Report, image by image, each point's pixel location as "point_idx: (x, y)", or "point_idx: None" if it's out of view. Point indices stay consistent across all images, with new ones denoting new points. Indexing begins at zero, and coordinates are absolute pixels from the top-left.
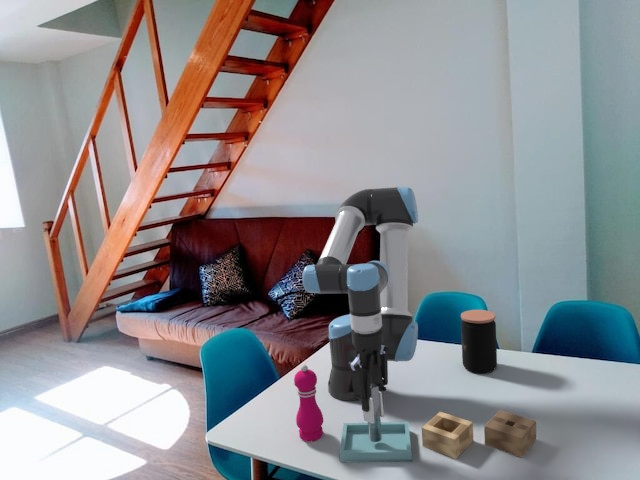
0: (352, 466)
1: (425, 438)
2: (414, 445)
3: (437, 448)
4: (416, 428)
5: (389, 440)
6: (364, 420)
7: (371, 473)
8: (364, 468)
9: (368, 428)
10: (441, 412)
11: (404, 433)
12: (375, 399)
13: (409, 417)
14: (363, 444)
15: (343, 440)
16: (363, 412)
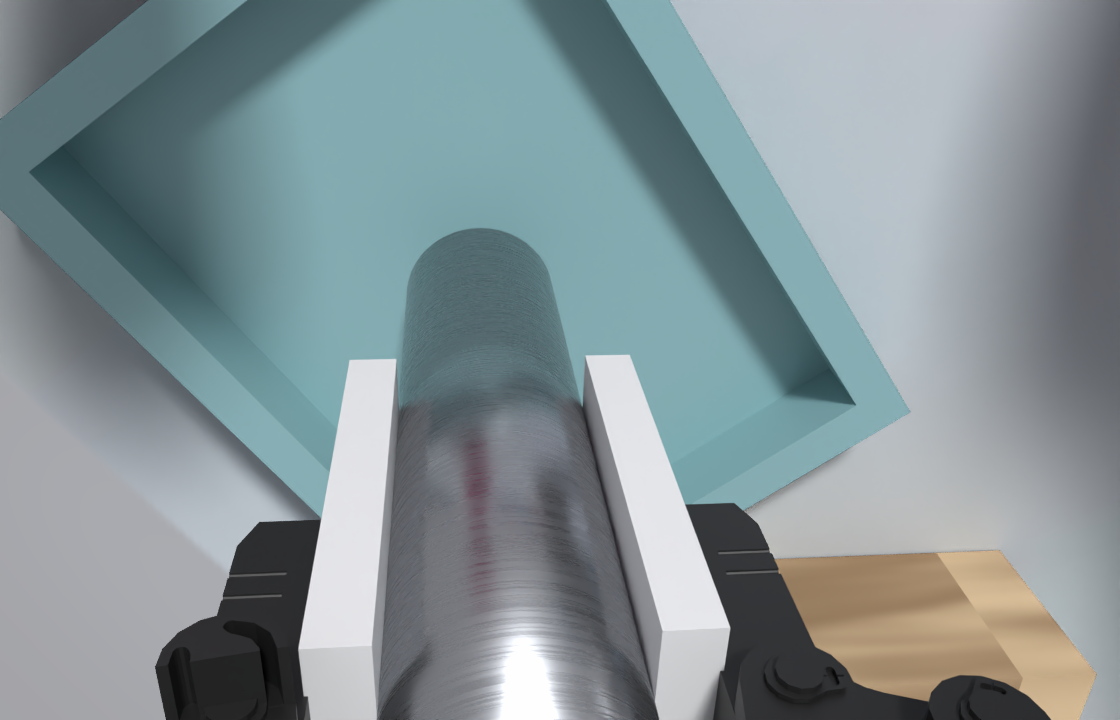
0: (55, 272)
1: None
2: None
3: None
4: (935, 395)
5: (605, 344)
6: (351, 371)
7: (120, 460)
8: (124, 377)
9: (414, 320)
10: (1083, 690)
11: (785, 386)
12: None
13: (1104, 241)
14: (388, 169)
15: (168, 27)
16: (338, 435)
